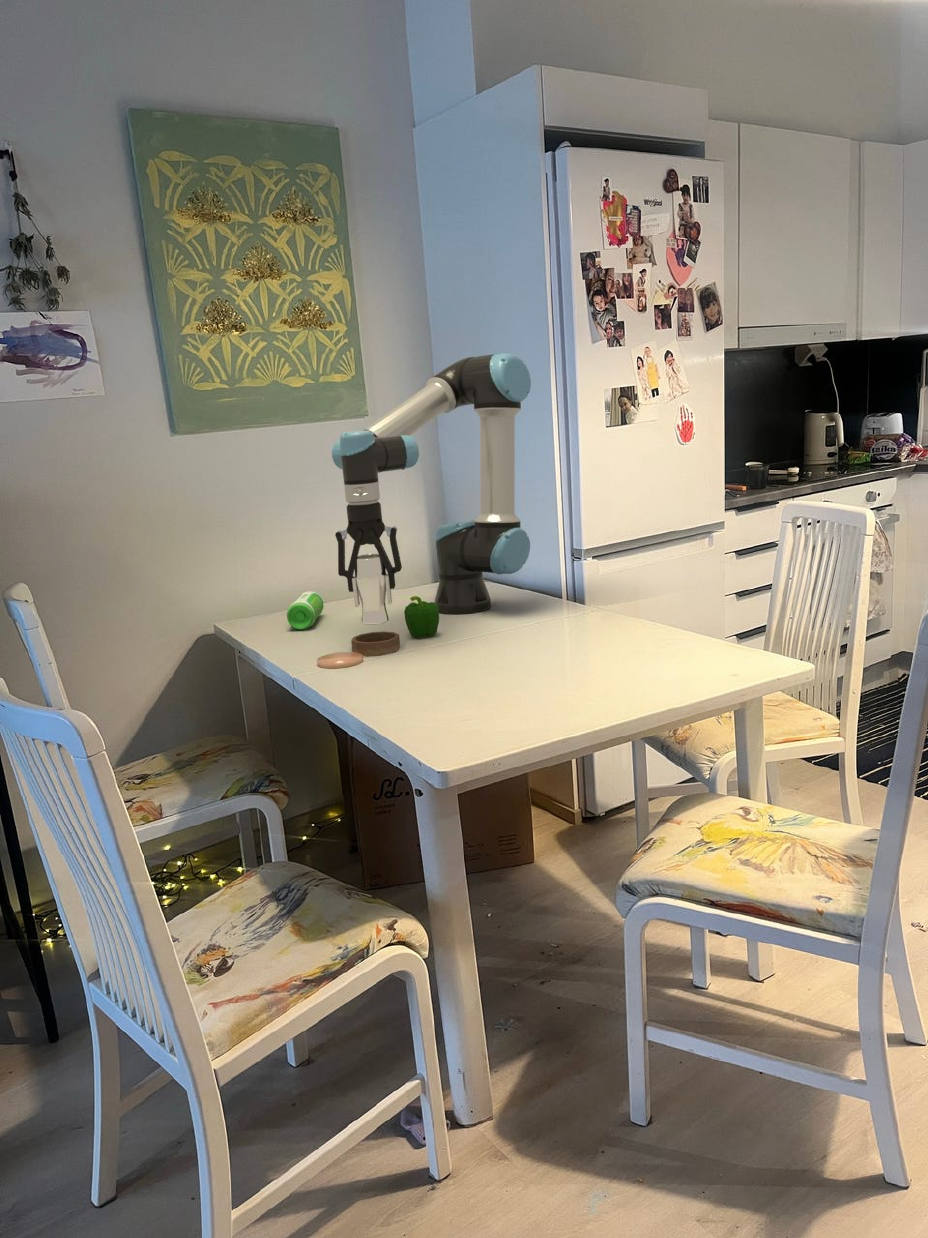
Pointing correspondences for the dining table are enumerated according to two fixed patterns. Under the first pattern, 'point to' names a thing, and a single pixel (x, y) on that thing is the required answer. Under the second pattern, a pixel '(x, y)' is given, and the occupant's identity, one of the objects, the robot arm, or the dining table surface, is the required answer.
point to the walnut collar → (376, 643)
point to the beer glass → (371, 588)
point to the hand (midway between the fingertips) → (373, 604)
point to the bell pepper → (422, 618)
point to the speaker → (305, 610)
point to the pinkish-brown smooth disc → (340, 660)
